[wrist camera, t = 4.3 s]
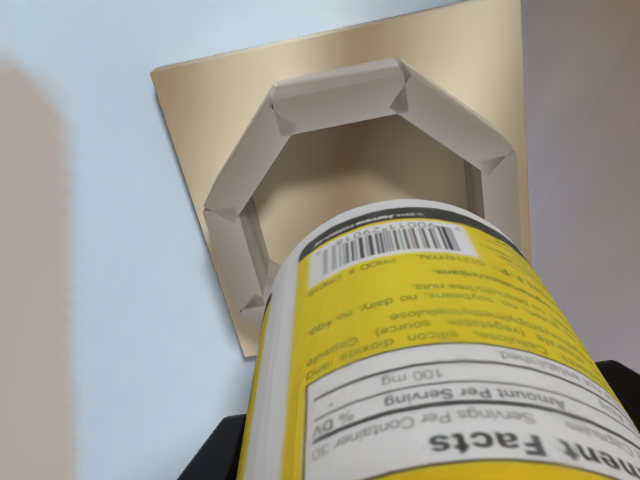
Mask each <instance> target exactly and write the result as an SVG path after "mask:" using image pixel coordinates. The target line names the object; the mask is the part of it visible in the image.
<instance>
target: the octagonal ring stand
mask: <svg viewBox="0 0 640 480" xmlns="http://www.w3.org/2000/svg"><path fill="white" fill-rule="evenodd" d="M150 75H151V78H152V81H153V84H154V87H155V90H156V93H157V96H158V99H159V102H160V105H161V108H162V111H163V114H164V117H165V120H166V123H167V126H168V129H169V132H170V135H171V138H172V141H173V144H174V147H175V150H176V153H177V156H178V159H179V162H180V165H181V168H182V171H183V174H184V177H185V180H186V183H187V186H188V189H189V192H190V195H191V198H192V201H193V204H194V207H195V210H196V213H197V216H198V219H199V222H200V225H201V228H202V231H203V234H204V237H205V240H206V243H207V246H208V249H209V252H210V255H211V258H212V261H213V264H214V267H215V270H216V273H217V276H218V279H219V282H220V285H221V288H222V291H223V294H224V297H225V300H226V303H227V306H228V309H229V312H230V315H231V318H232V321H233V324H234V327H235V330H236V333H237V335H238V338H239V341H240V344H241V347H242V350H243V353H244V356H245V357H250V356H256V355H257V350H258V344H259V339H260V332H261V328H262V321H263V316H264V311H265V307H266V303H267V299H268V295H269V292H270V289H271V287H272V284H273V281H274V279H275V277H276V275H277V273H278V271H279V269H280V267H281V266H282V264H283V262H284V261H285V259H286V258H287V257H288V255H289V254H290V253H291V252H292V250H293V249H294V248H295V247H296V246H297V245H298V244H299V243H300V242H301V241H302V240H303V239H304V238H305V237H306V236H307V235H309V234H310V233H311V232H312V231H314V230H315V229H316V228H317V227H319V226H320V225H322V224H324V223H325V222H327V221H328V220H330V219H332V218H334V217H335V216H337V215H339V214H341V213H344V212H346V211H349V210H351V209H354V208H357V207H360V206H364V205H368V204H372V203H376V202H381V201H388V200H396V199H418V200H428V201H436V202H441V203H445V204H449V205H453V206H456V207H459V208H462V209H465V210H467V211H469V212H471V213H473V214H475V215H477V216H479V217H480V218H482V219H484V220H485V221H487V222H489V223H490V224H492V225H494V226H495V227H496V228H498V229H499V230H500V231H501V232H502V233H503V234H505V235H506V236H507V237H508V238H509V239H510V240H511V241H512V242H513V243H514V244H515V245H516V247H517V248H518V249H519V250H520V251H521V253H522V254H523V255H524V257H525V258H526V259H527V261H528V262H529V263H530V265H531V244H530V220H529V195H528V171H527V147H526V123H525V99H524V75H523V51H522V27H521V2H520V0H469V1H464V2H460V3H455V4H450V5H446V6H441V7H436V8H432V9H427V10H422V11H418V12H413V13H409V14H404V15H399V16H395V17H390V18H385V19H381V20H376V21H371V22H367V23H362V24H358V25H353V26H348V27H344V28H339V29H334V30H330V31H325V32H320V33H316V34H311V35H307V36H302V37H297V38H293V39H288V40H283V41H279V42H274V43H269V44H265V45H260V46H256V47H251V48H246V49H242V50H237V51H232V52H228V53H223V54H218V55H214V56H209V57H205V58H200V59H195V60H191V61H186V62H181V63H177V64H172V65H167V66H163V67H158V68H156V69H154V70H153V71H152V72H150Z"/></svg>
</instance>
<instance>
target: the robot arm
mask: <svg viewBox="0 0 640 480" xmlns="http://www.w3.org/2000/svg"><path fill="white" fill-rule="evenodd" d="M594 363H595V364H596V366H597V368H598V369H599V371H600V372H601V374H602V375H603V377H604V378H605V380H606V381H607V383H608V384H609V386H610V388H611V389H612V391H613V392H614V394H615V395H616V397H617V398H618V400H619V401H620V403H621V405H622V406H623V408H624V409H625V411H626V412H627V414H628V415H629V417H630V418H631V420H632V422H633V423H634V425H635V427H636V428H637V430H638V431H639V433H640V374H638V373H636V372H634V371H633V370H631V369H629V368H628V367H626V366H624V365H622V364H621V363H619V362H617V361H614V360H607V361H600V362H594ZM246 417H247V415H246V414H241V415H235V416H228V417H225V418H224V419H223V420H222V421H221V422H220V423H219V425H218V426H217V427H216V429H215V430H214V431H213V433H212V434H211V435H210V437H209V438H208V439H207V440H206V442H205V443H204V444H203V446H202V447H201V448H200V450H199V451H198V452H197V454H196V455H195V456H194V458H193V459H192V460H191V462H190V463H189V464H188V466H187V467H186V468H185V470H184V471H183V472H182V474H181V475H180V476H179V478H178V479H177V480H236V478H237V471H238V465H239V459H240V453H241V447H242V441H243V435H244V428H245V423H246Z"/></svg>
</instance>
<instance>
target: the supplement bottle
mask: <svg viewBox="0 0 640 480" xmlns="http://www.w3.org/2000/svg"><path fill="white" fill-rule="evenodd" d="M236 480H640V433H639V431H638V430H637V428H636V427H635V425H634V423H633V422H632V420H631V418H630V417H629V415H628V414H627V412H626V411H625V409H624V408H623V406H622V405H621V403H620V401H619V400H618V398H617V397H616V395H615V394H614V392H613V391H612V389H611V388H610V386H609V384H608V383H607V381H606V380H605V378H604V377H603V375H602V374H601V372H600V371H599V369H598V368H597V366H596V364H595V363H594V361H593V360H592V358H591V356H590V355H589V353H588V352H587V350H586V349H585V347H584V345H583V344H582V342H581V341H580V339H579V338H578V336H577V335H576V333H575V332H574V330H573V329H572V327H571V326H570V324H569V322H568V321H567V319H566V318H565V316H564V315H563V313H562V311H561V310H560V308H559V307H558V305H557V304H556V302H555V301H554V299H553V298H552V296H551V295H550V293H549V292H548V290H547V289H546V287H545V286H544V284H543V282H542V281H541V279H540V278H539V276H538V275H537V273H536V272H535V271H534V270H533V268H532V266H531V265H530V263H529V262H528V261H527V259H526V258H525V257H524V255H523V254H522V253H521V251H520V250H519V249H518V248H517V247H516V245H515V244H514V243H513V242H512V241H511V240H510V239H509V238H508V237H507V236H506V235H505V234H503V233H502V232H501V231H500V230H499V229H498V228H496V227H495V226H494V225H492V224H490V223H489V222H487V221H485V220H484V219H482V218H480V217H479V216H477V215H475V214H473V213H471V212H469V211H467V210H465V209H462V208H459V207H456V206H453V205H449V204H445V203H441V202H436V201H428V200H418V199H396V200H388V201H381V202H376V203H372V204H368V205H364V206H360V207H357V208H354V209H351V210H349V211H346V212H344V213H341V214H339V215H337V216H335V217H334V218H332V219H330V220H328V221H327V222H325V223H324V224H322V225H320V226H319V227H317V228H316V229H315V230H314V231H312V232H311V233H310V234H309V235H307V236H306V237H305V238H304V239H303V240H302V241H301V242H300V243H299V244H298V245H297V246H296V247H295V248H294V249H293V250H292V252H291V253H290V254H289V255H288V257H287V258H286V259H285V261H284V262H283V264H282V266H281V267H280V269H279V271H278V273H277V275H276V277H275V279H274V281H273V284H272V287H271V289H270V292H269V295H268V299H267V303H266V307H265V311H264V316H263V321H262V328H261V332H260V339H259V344H258V350H257V355H256V362H255V369H254V375H253V380H252V387H251V393H250V400H249V405H248V411H247V417H246V423H245V428H244V435H243V441H242V447H241V453H240V459H239V465H238V471H237V478H236Z"/></svg>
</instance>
